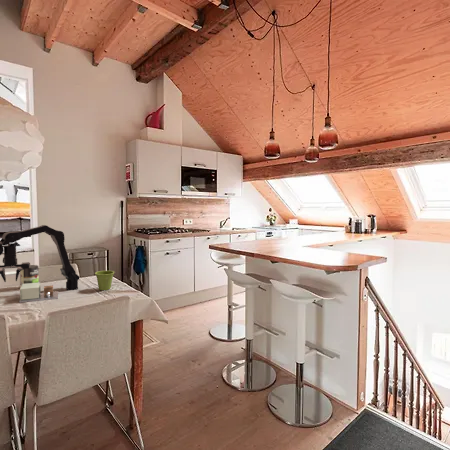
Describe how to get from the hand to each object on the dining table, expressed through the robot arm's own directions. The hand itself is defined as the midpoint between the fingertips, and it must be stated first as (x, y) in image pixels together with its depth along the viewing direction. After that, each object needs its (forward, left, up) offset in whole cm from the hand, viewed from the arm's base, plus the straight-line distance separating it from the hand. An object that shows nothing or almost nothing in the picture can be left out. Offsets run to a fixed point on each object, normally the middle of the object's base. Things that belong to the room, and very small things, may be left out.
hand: (10, 281), depth 174 cm
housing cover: (-10, 0, -10) cm, 13 cm away
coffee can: (-7, -27, -11) cm, 30 cm away
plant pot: (-51, -3, -11) cm, 52 cm away
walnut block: (-19, 0, -10) cm, 21 cm away
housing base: (-14, 0, -11) cm, 18 cm away
